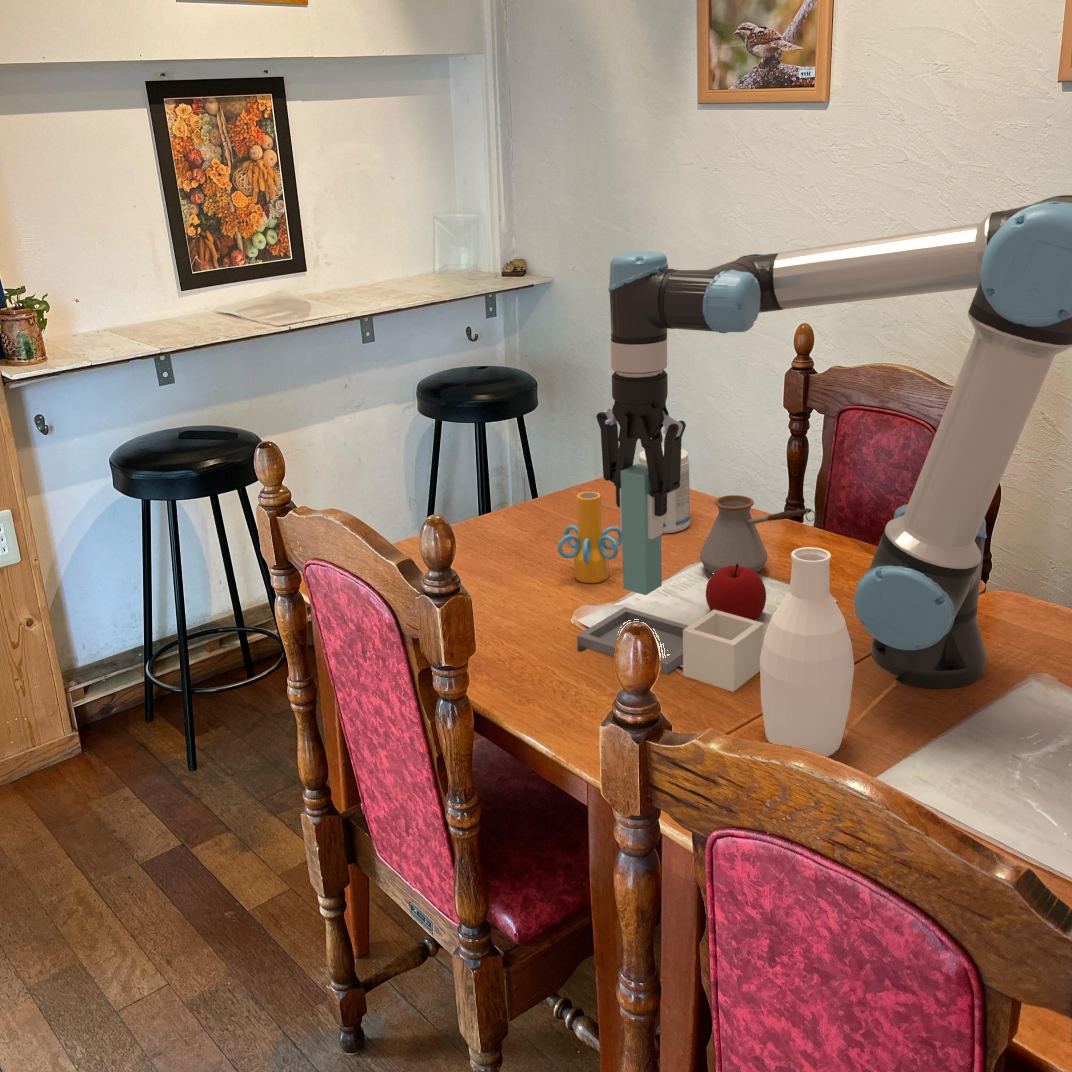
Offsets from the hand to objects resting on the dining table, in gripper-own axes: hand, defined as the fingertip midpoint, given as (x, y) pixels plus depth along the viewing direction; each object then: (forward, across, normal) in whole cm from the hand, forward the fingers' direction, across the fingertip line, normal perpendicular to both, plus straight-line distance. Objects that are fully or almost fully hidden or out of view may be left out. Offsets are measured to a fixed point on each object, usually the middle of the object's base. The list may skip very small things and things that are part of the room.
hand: (641, 532), depth 151 cm
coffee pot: (+19, -1, -32) cm, 37 cm away
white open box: (+19, -14, +1) cm, 23 cm away
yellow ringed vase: (+19, +23, -17) cm, 34 cm away
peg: (+9, 0, 0) cm, 9 cm away
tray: (+19, 0, 0) cm, 19 cm away
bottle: (+19, -31, +9) cm, 37 cm away
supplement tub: (+19, +26, -44) cm, 55 cm away
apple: (+19, -6, -16) cm, 25 cm away
